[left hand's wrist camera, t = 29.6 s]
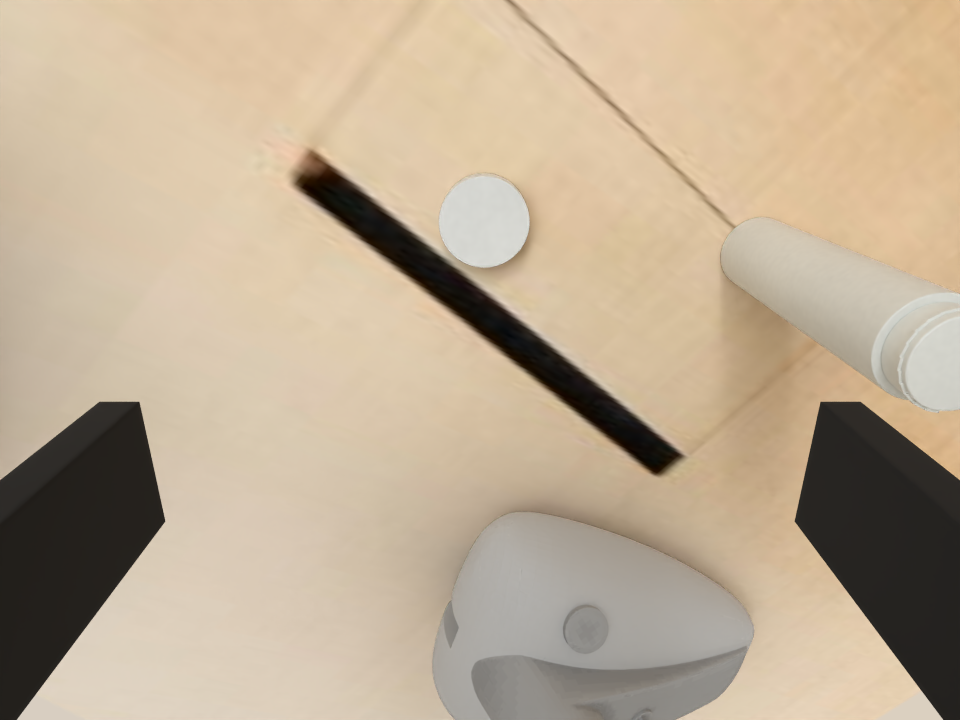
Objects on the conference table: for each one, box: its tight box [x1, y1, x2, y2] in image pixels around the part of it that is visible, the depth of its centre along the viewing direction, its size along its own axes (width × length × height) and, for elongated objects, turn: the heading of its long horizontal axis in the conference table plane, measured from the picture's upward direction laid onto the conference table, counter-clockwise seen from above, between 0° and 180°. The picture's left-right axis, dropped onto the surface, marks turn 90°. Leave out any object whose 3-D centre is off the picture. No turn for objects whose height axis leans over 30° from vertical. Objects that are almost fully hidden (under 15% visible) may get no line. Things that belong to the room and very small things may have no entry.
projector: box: [432, 512, 754, 720], centre depth 44 cm, size 22×23×15 cm
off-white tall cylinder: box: [721, 217, 960, 413], centre depth 32 cm, size 4×4×18 cm
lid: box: [439, 173, 530, 268], centre depth 39 cm, size 5×5×2 cm
